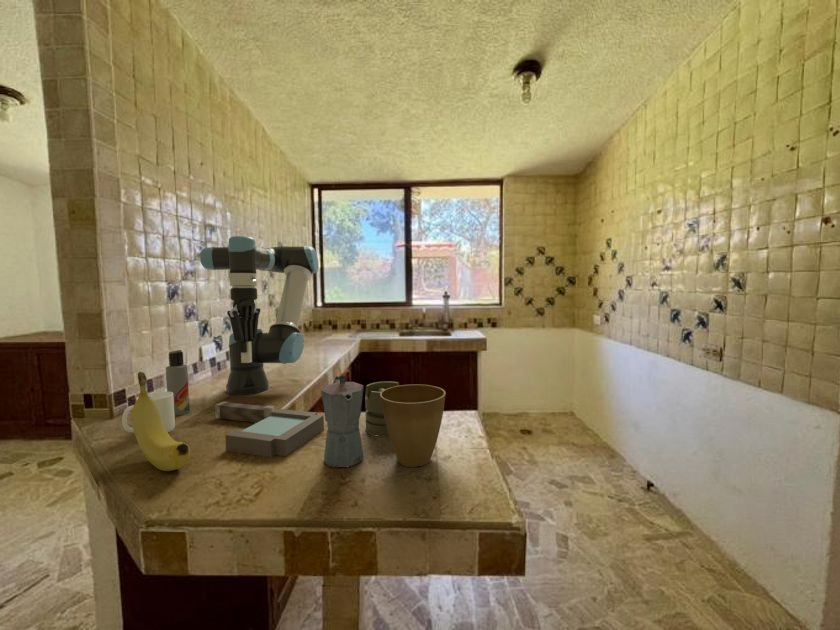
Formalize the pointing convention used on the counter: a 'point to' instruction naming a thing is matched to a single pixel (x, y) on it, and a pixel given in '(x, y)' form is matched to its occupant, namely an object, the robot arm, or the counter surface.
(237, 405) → the folding leg
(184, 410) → the lotion bottle
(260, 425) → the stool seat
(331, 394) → the moka pot
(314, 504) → the counter surface
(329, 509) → the counter surface
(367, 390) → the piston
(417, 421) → the plant pot
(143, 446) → the banana
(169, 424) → the cup
